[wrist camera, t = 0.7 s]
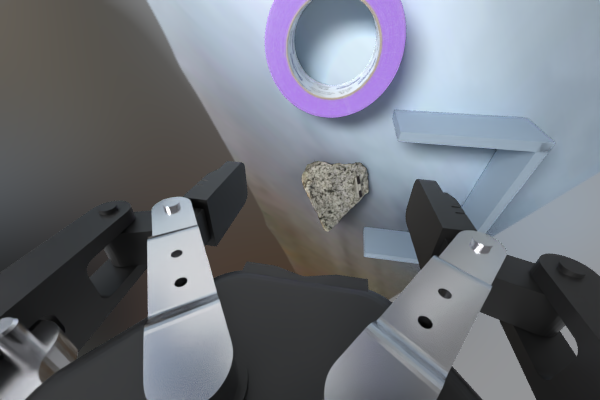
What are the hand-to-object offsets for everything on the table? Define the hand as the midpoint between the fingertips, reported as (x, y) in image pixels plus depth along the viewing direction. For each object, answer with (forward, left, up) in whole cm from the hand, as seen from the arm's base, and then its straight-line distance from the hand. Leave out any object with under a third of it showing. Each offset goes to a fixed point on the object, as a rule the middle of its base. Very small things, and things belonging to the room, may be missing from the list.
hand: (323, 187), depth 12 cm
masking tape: (-3, -1, -19) cm, 19 cm away
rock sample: (+13, +1, -19) cm, 23 cm away
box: (+13, +13, -18) cm, 26 cm away
